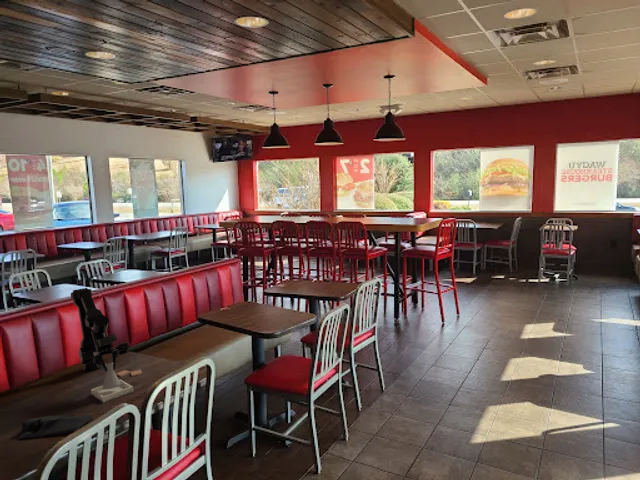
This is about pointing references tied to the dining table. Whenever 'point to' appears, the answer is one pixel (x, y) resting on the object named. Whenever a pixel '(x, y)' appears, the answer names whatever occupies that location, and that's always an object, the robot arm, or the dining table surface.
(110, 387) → the flask
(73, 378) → the dining table surface
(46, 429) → the black crumpled cloth
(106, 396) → the tray
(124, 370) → the tile
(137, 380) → the dining table surface
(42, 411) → the dining table surface
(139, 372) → the tile
